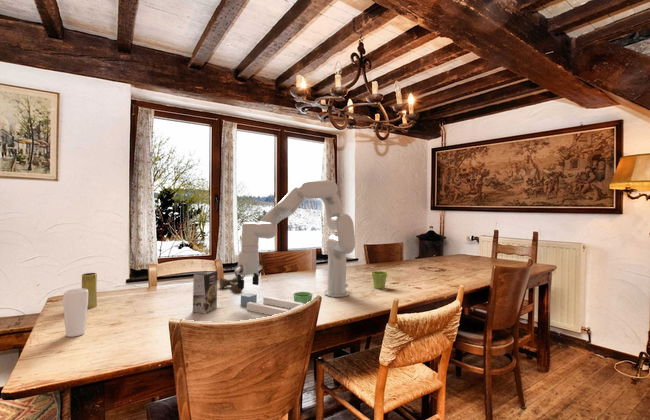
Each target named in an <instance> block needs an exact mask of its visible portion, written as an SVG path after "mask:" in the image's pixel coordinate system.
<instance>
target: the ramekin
mask: <svg viewBox="0 0 650 420" xmlns="http://www.w3.org/2000/svg"><path fill="white" fill-rule="evenodd" d="M292 295H293V301H294V302H300V303H305V304H306V303H307V302H309V301H311V300H313V293H312V292H309V291H298V292H297V291H296V292H294V293H293V294H292ZM311 302H312V301H311Z"/></svg>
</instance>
